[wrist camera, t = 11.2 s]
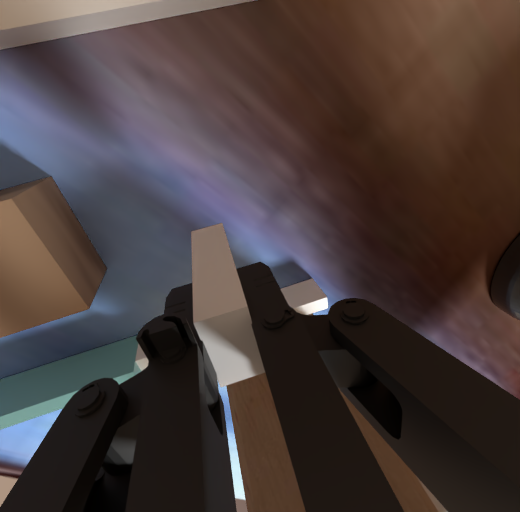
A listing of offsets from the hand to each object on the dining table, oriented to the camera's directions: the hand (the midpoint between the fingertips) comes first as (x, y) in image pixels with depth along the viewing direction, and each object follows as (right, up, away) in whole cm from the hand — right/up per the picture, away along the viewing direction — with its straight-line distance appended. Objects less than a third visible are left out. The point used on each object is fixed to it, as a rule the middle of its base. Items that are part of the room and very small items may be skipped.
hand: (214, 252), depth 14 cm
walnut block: (-13, +1, +5) cm, 14 cm away
